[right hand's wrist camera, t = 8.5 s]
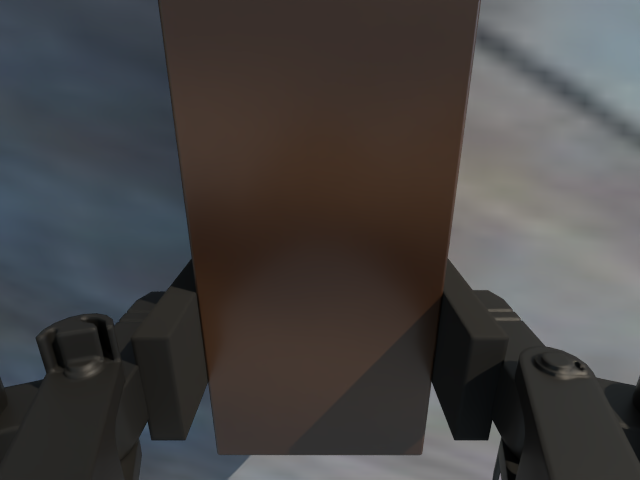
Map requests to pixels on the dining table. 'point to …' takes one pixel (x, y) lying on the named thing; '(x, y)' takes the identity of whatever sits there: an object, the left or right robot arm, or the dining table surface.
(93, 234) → the dining table surface
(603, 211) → the dining table surface
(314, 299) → the plank
